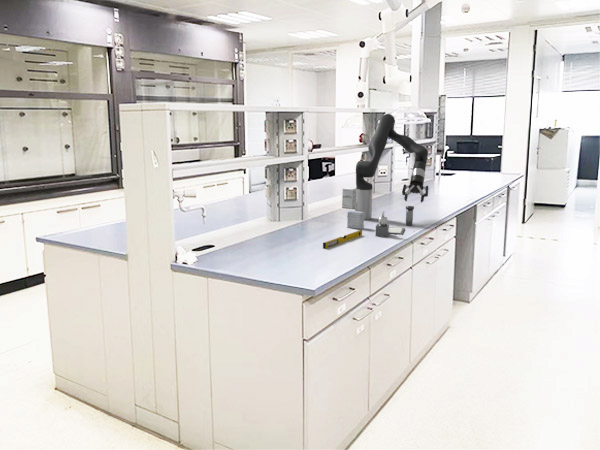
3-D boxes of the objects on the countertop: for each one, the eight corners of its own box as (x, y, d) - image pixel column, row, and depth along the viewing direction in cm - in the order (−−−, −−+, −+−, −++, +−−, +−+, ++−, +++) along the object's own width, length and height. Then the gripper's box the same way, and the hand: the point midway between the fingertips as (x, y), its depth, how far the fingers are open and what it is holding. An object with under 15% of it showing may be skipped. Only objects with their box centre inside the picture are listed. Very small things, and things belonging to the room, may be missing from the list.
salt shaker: (404, 225, 287) (405, 206, 285) (405, 224, 291) (406, 205, 289) (412, 226, 286) (413, 207, 284) (413, 224, 290) (414, 206, 288)
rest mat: (380, 233, 269) (380, 232, 268) (383, 227, 282) (383, 226, 282) (402, 234, 266) (402, 233, 265) (404, 229, 279) (404, 227, 279)
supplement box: (341, 207, 343) (342, 188, 340) (346, 206, 349) (346, 187, 347) (352, 208, 339) (352, 189, 337) (356, 207, 346) (357, 187, 343)
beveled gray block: (375, 236, 262) (376, 212, 260) (377, 233, 268) (377, 210, 266) (387, 236, 261) (388, 213, 258) (388, 234, 266) (389, 210, 264)
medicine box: (363, 227, 282) (364, 211, 280) (360, 229, 278) (361, 213, 276) (350, 226, 286) (350, 210, 284) (346, 227, 282) (347, 211, 280)
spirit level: (359, 235, 264) (359, 229, 264) (361, 236, 264) (362, 230, 263) (322, 249, 238) (323, 242, 237) (325, 249, 237) (325, 242, 236)
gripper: (430, 182, 304) (426, 205, 297) (405, 181, 309) (401, 204, 301) (430, 174, 298) (426, 198, 290) (404, 173, 303) (400, 196, 295)
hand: (413, 201), depth 296 cm, fingers open, 8 cm apart
